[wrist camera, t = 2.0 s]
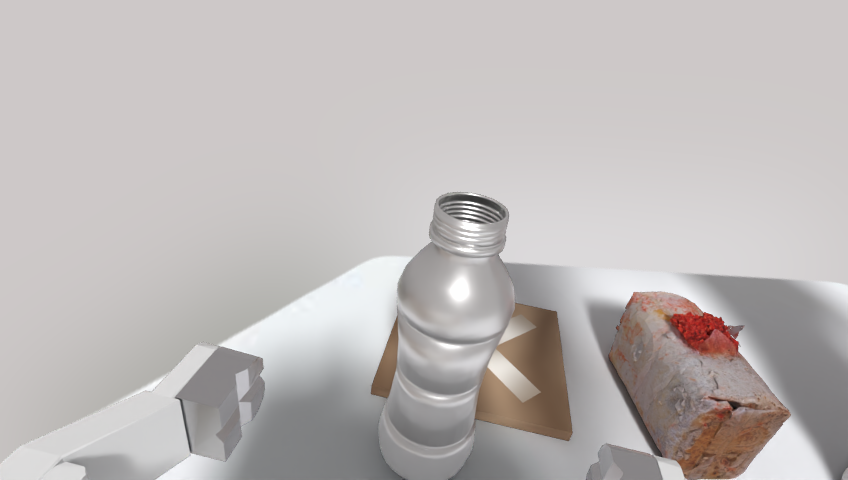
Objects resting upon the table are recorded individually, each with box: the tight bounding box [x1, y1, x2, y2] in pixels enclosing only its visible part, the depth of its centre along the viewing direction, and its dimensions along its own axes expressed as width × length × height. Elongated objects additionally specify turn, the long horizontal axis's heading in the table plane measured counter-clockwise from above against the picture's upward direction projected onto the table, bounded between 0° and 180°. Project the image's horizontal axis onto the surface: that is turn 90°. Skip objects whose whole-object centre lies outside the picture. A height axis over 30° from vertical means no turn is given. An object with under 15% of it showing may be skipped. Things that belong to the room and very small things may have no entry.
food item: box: [609, 292, 791, 480], centre depth 36 cm, size 14×8×10 cm, turn 2°
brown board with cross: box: [371, 303, 573, 441], centre depth 41 cm, size 16×15×1 cm
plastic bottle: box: [378, 192, 515, 480], centre depth 27 cm, size 6×7×20 cm
